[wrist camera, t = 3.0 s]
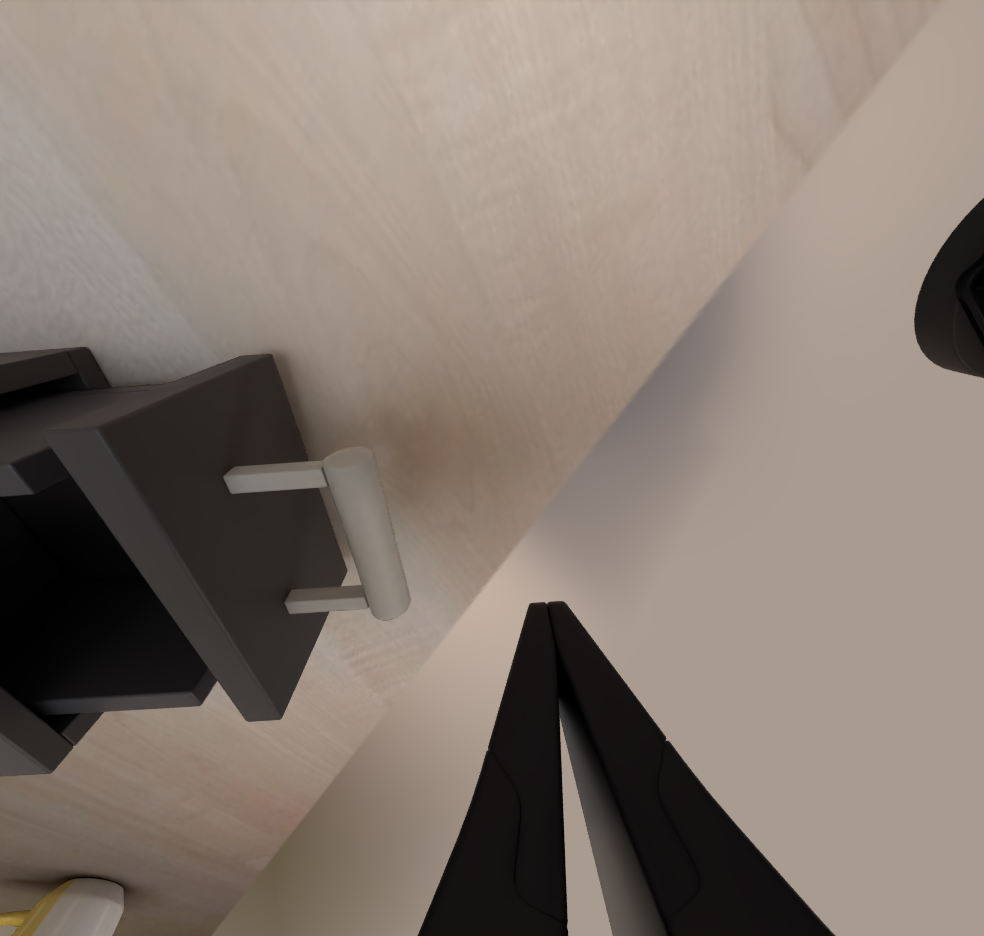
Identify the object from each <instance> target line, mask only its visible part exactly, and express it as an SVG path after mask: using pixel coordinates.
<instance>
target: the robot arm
mask: <svg viewBox="0 0 984 936" xmlns="http://www.w3.org/2000/svg"><path fill="white" fill-rule="evenodd" d="M976 280H977V281H976ZM975 282H976V283H975ZM954 290H955V293H956V295H957V297H958V299H959V301H960V303H961V305H962V307H963V309H964V311H965V313H966V315H967V316H968V318H969V320H970V322H971V324H972V326H973V328H974V330H975V332H976V334H977V336H978V338H979V339H980V341H981V343H982V345H983V347H984V256H983V257H982V258H980V259H979V260H978V261H976V262H975V263H974V264H973V265H971V266H970V267H969V268H968V269H966V270H965V271H964V272H963V273H962V274H961V275H960V276H959V278H958V279H957V281H956V283H955V286H954ZM559 715H560V717H559ZM560 719H561V723H562V727H563V731H564V736H565V740H566V743H567V748H568V752H569V756H570V760H571V764H572V769H573V773H574V777H575V781H576V785H577V789H578V793H579V797H580V802H581V806H582V810H583V814H584V818H585V822H586V826H587V831H588V835H589V839H590V842H591V847H592V851H593V855H594V859H595V864H596V867H597V872H598V876H599V880H600V884H601V888H602V893H603V896H604V901H605V905H606V909H607V913H608V917H609V922H610V926H611V930H612V934H613V936H835V935H834V934H833V933H832V932H831V931H830V929H828V927H827V926H826V925H825V924H824V923H823V922H822V921H821V920H820V918H819V917H818V916H817V915H816V914H815V913H814V912H813V911H812V910H811V908H809V906H808V905H807V904H806V903H805V902H804V901H803V900H802V898H801V897H800V896H799V895H798V894H797V893H796V892H795V891H794V889H793V888H792V887H791V886H790V885H789V884H788V882H787V881H786V880H785V879H784V878H783V877H782V876H781V875H780V873H778V871H777V870H776V869H775V868H774V867H773V866H772V864H771V863H770V862H769V861H768V860H767V859H766V858H765V857H764V855H763V854H762V853H761V852H760V851H759V850H758V849H757V848H756V846H755V845H754V844H753V843H752V842H751V841H750V840H749V838H748V837H747V836H746V835H745V834H744V833H743V832H742V831H741V829H740V828H739V827H738V826H737V825H736V824H735V823H734V821H733V820H732V819H731V818H730V817H729V816H728V814H727V813H726V812H725V811H724V810H723V809H722V807H721V806H720V805H719V804H718V803H717V801H716V800H715V799H714V798H713V797H712V796H711V794H710V793H709V792H708V791H707V790H706V788H705V787H704V786H703V784H702V783H701V782H700V781H699V779H698V778H697V777H696V776H695V774H694V773H693V772H692V770H691V769H690V768H689V767H688V765H687V764H686V763H685V762H684V760H683V759H682V758H681V756H680V755H679V754H678V752H677V751H676V750H675V748H674V747H673V746H672V744H671V743H670V742H669V741H666V737H665V735H664V734H663V732H662V731H661V730H660V728H659V727H658V726H657V724H656V723H655V722H654V721H653V719H652V718H651V716H650V715H649V714H648V712H647V711H646V710H645V708H644V707H643V706H642V704H641V703H640V702H639V700H638V699H637V698H636V696H635V695H634V694H633V692H632V691H631V690H630V688H629V687H628V686H627V684H626V683H625V682H624V680H623V679H622V678H621V676H620V675H619V674H618V672H617V671H616V670H615V668H614V667H613V666H612V664H611V663H610V662H609V660H608V659H607V658H606V656H605V655H604V654H603V652H602V651H601V650H600V648H599V647H598V646H597V644H596V643H595V642H594V640H593V639H592V638H591V636H590V635H589V634H588V632H587V631H586V629H585V628H584V627H583V626H582V624H581V623H580V622H579V620H578V619H577V618H576V616H575V615H574V613H573V612H572V611H571V610H570V608H569V607H568V605H567V604H566V603H565V602H563V601H555V602H549V603H547V604H546V603H545V602H539V603H531V604H529V607H528V610H527V613H526V617H525V620H524V624H523V627H522V631H521V634H520V638H519V641H518V645H517V648H516V652H515V655H514V659H513V662H512V666H511V669H510V672H509V676H508V679H507V683H506V686H505V690H504V693H503V697H502V701H501V704H500V707H499V711H498V714H497V719H496V721H495V725H494V728H493V732H492V735H491V739H490V742H489V746H488V751H487V752H486V755H485V759H484V762H483V766H482V769H481V773H480V775H479V779H478V782H477V785H476V788H475V791H474V795H473V797H472V801H471V804H470V806H469V809H468V812H467V814H466V817H465V820H464V822H463V825H462V828H461V831H460V833H459V836H458V838H457V841H456V844H455V846H454V848H453V851H452V853H451V856H450V858H449V861H448V863H447V866H446V868H445V870H444V873H443V875H442V878H441V880H440V883H439V885H438V887H437V890H436V892H435V895H434V897H433V900H432V902H431V905H430V907H429V909H428V912H427V914H426V917H425V919H424V922H423V924H422V927H421V929H420V931H419V934H418V936H568V929H567V923H568V919H567V894H566V869H565V844H564V818H563V793H562V768H561V742H560Z"/></svg>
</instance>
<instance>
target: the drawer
mask: <svg viewBox="0 0 984 936" xmlns="http://www.w3.org/2000/svg"><path fill="white" fill-rule="evenodd" d="M328 485H329V487H330V490H331V493H332V496H333V499H334V502H335V505H336V508H337V511H338V514H339V517H340V520H341V523H342V526H343V529H344V532H345V535H346V538H347V541H348V544H349V547H350V550H351V553H352V556H353V559H354V562H355V565H356V568H357V571H358V574H359V577H360V580H361V583H362V585H357V586H341V585H342V582H343V580H344V578H345V576H346V573H347V568H346V565H345V562H344V559H343V556H342V553H341V551H340V548H339V545H338V542H337V539H336V536H335V533H334V531H333V528H332V525H331V522H330V519H329V516H328V513H327V511H326V508H325V505H324V502H323V499H322V496H321V493H320V490H319V488H320V487H327V486H328ZM410 601H411V598H410V594H409V590H408V586H407V582H406V578H405V574H404V570H403V566H402V562H401V558H400V554H399V550H398V546H397V542H396V538H395V534H394V530H393V526H392V522H391V518H390V514H389V510H388V506H387V502H386V498H385V494H384V490H383V486H382V482H381V478H380V474H379V470H378V466H377V462H376V458H375V454H374V452H373V451H372V450H371V449H370V448H367V447H349V448H344V449H341V450H338V451H335V452H333V453H331V454H330V455H328V456H327V457H326V458H325V459H324V460H322V461H309V459H308V456H307V453H306V450H305V448H304V445H303V442H302V439H301V436H300V433H299V430H298V427H297V425H296V422H295V419H294V416H293V413H292V410H291V407H290V405H289V402H288V399H287V396H286V393H285V390H284V387H283V385H282V382H281V379H280V376H279V373H278V370H277V367H276V364H275V362H274V359H273V356H272V355H271V354H260V355H248V356H239V357H237V358H234V359H231V360H229V361H226V362H223V363H221V364H218V365H216V366H213V367H210V368H208V369H205V370H202V371H200V372H197V373H194V374H192V375H189V376H187V377H184V378H181V379H179V380H176V381H173V382H171V383H168V384H159V385H146V386H133V387H120V388H107V389H94V390H81V391H68V392H55V393H42V394H29V395H16V396H3V397H0V685H1V686H2V687H3V688H4V689H6V690H7V691H8V692H9V693H10V694H12V695H13V696H14V697H15V698H16V699H18V700H19V701H20V702H21V703H22V704H24V705H25V706H26V707H27V708H28V709H30V710H31V711H32V712H33V713H34V714H36V715H37V716H40V715H57V714H74V713H91V712H107V711H124V710H141V709H158V708H175V707H192V706H201V705H202V704H203V702H204V700H205V699H206V697H207V696H208V694H209V693H210V691H211V690H212V688H213V686H214V685H215V683H216V682H217V681H218V682H219V683H220V685H221V686H222V688H223V689H224V690H225V692H226V693H227V695H228V696H229V697H230V699H231V700H232V702H233V703H234V705H235V706H236V707H237V709H238V710H239V712H240V713H241V714H242V716H243V717H244V719H245V720H246V721H248V722H252V721H269V720H280V719H281V718H282V717H283V715H284V712H285V710H286V708H287V706H288V703H289V701H290V699H291V697H292V694H293V692H294V690H295V688H296V686H297V683H298V681H299V679H300V677H301V674H302V672H303V670H304V668H305V665H306V663H307V661H308V659H309V656H310V654H311V652H312V650H313V647H314V645H315V643H316V641H317V638H318V636H319V634H320V632H321V629H322V627H323V625H324V623H325V621H326V618H327V616H328V614H329V612H330V611H343V610H358V609H368V607H370V610H371V613H372V615H373V616H374V617H375V618H377V619H379V620H384V621H387V620H393V619H395V618H398V617H399V616H401V615H402V614H403V613H405V611H406V610H407V609H408V607H409V605H410Z"/></svg>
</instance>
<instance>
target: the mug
mask: <svg viewBox="0 0 984 936" xmlns="http://www.w3.org/2000/svg"><path fill="white" fill-rule="evenodd" d="M123 909H124V891H123V888H122V887H121V886H120V885H118V884H116V883H114V882H110V881H107V880H102V879H94V878H78V879H72V880H69V881H67V882H65V883H64V884H62V885H61V886H59V887H58V888H56V889H55V890H53V891H52V892H51V893H49V894H48V895H46V896H45V897H43V898H42V899H41V900H40V901H39V902H38V903H37V905H36V906H35V907H34V908H33V910H26V911H15V912H6V913H0V926H2V925H11V926H19V927H18V928H17V929H16V931H15V932H14V933H13V934H12V935H11V936H112V935H113V933H114V931H115V928H116V926H117V924H118V922H119V919H120V917H121V915H122V913H123Z"/></svg>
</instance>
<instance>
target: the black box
mask: <svg viewBox="0 0 984 936" xmlns="http://www.w3.org/2000/svg"><path fill="white" fill-rule="evenodd" d="M107 388H110V386H109V385H108V383H107V381H106V380H105V378H104V376H103V374H102V373H101V371H100V369H99V367H98V366H97V364H96V362H95V361H94V359H93V357H92V355H91V354H90V352H89V350H88V349H87V348H86V347H76V348H64V349H51V350H38V351H26V352H13V353H0V397H3V396H16V395H29V394H42V393H55V392H68V391H81V390H94V389H107ZM103 713H104V712H91V713H74V714H57V715H40V716H37V715H36V714H34V713H33V712H32V711H31V710H30V709H28V708H27V707H26V706H25V705H24V704H22V703H21V702H20V701H19V700H18V699H16V698H15V697H14V696H13V695H12V694H10V693H9V692H8V691H7V690H6V689H4V688H3V687H2V686H1V685H0V776H18V775H36V774H50V773H52V772H53V771H54V770H55V769H56V768H57V766H58V765H59V764H60V763H61V762H62V760H63V759H64V758H65V757H66V756H67V755H68V753H69V752H70V751H71V750H72V749H73V746H75V745H76V744H77V743H78V742H79V741H80V740H81V739H82V737H83V736H84V735H85V734H86V733H87V732H88V730H89V729H90V728H91V727H92V726H93V724H94V723H95V722H96V721H97V720H98V719H99V717H100V716H101V715H102V714H103Z"/></svg>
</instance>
